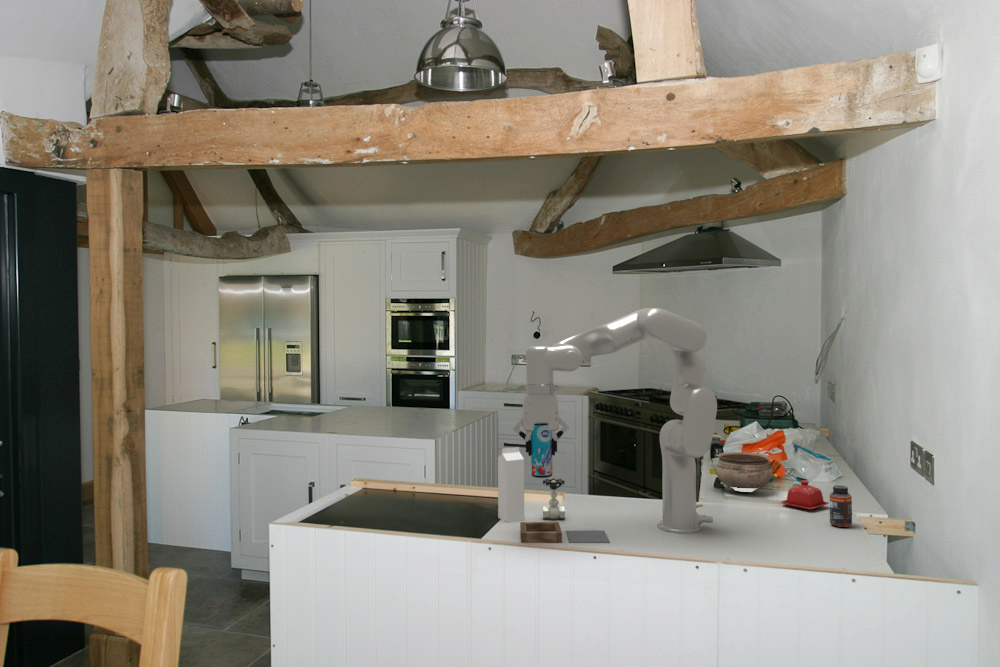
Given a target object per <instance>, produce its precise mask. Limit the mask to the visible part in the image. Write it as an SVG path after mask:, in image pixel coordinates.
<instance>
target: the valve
mask: <svg viewBox="0 0 1000 667" xmlns="http://www.w3.org/2000/svg"><path fill="white" fill-rule="evenodd" d="M542 484H543V485H545V486H549V488H550V490H551V492H550V499H549V501H548V505H549V506H542V519H543V520H551V521H552V520H553V521H557V520H558V519H559V520H565V519H566V510H565V509H566V507H565V506H559V502H560V501H559V500H558V499H557V497H558V493H557V491H556V490H557V489H559V488H560V487H561V486H563V485H565V480H564V479H562V478H558V479H557V478H555V477H553V478H551V479H549V478H544V479H543V480H542Z"/></svg>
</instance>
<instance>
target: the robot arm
mask: <svg viewBox="0 0 1000 667" xmlns="http://www.w3.org/2000/svg"><path fill="white" fill-rule="evenodd" d="M649 338H650V339H653V338H654V339H658V340H659V341H661V342H662V343H663V345H664V346H665V347H666V348H667V349H668V350H669V351H670V353H671V355H672V356H673V359H674V365H675V366H674V375H673V380H672V386H671V392H670V399H669V405H670V408H671V410H672V411H673V412H674V413H675V414H677V415H680V416H683V418H682V419H670V420H668V421H666V423H664V424H663V426H662V427H661V429H660V432H659V445H660V446H659V447H660V450H661V452H660V453H661V460H662V462H661V463H662V465H661V466H662V480H661V481H662V519H660V520H658V521H657V525H656V526H657V528H658V529H659V530H660V531H662V532H667V533H672V534H682V535H684V534H685V535H686V534H687V535H690V534H696V533H699V532H701V531H702V530H703V529H702V524H703V523H706V524H712V523H713V522H714V517H713V515H706V514H699V513H698V512H697V464H696V459H698V458H701V457H703V456H704V455H706V454H707V452H708V451H709V449H710V447H711V445H712V441H713V435H714V430H715V424H716V418H717V411H718V401H717V397H716V395H715V393H714V392H713V391H712V390H711V389H710V388H708V387H707V386H704V381H705V375H706V374H705V373H706V363H705V357H704V354H703V351H702V349H704V347H705V346H706V344H707V341H708V335H707V332H706V330H705V328H704V327H703V326H702V325H701V324H700V323H698V322H696V321H693V320H690V319H688V318H686V317H683V316H682V315H678V314H676V313H674V312H671V311H669V310H666V309H664V308H660V307H647V308H640V309H638V310H635V311H633V312H631V313H628V314H626V315H623V316H622V317H619V318H617V319H613V320H612V321H609V322H607V323H605V324H602V325H599V326H596V327H594V328H592V329H590V330H589V329H588V330H587V331H584V332H580V333H578V334H576V335H573V336H570V337H568V338H566V339H563V340H561V341H559V342H557V343H554V344H553V345H551V346H549V345H530V346H528V347H527V348H526V350H525V368H526V369H525V370H526V372H525V374H526V376H525V377H526V394H523V400H522V416H521V417H522V418H520V420H519V421H518V422H517V423H516V424H514V426H513V430H514V432H515V433H516V434H518V435H519V436H520V437H521V438H522V439H523V441H524V442H525V453H527V454H528V456H529V457H531V437H530V436H531V433H532V431H533V430H534V426H535V425H534V424H547V423H548V426H549V430H550V431H551V434H552V456H555V455H556V453H557V452H558V440H559V439H560V438H561V437H562V436H563V435H564V434H565V433H566V432H567V431H568V430H569V428H570V427H569V425H568V424H567V423H566V422H565V421H564V420H563V419H562V418H561V417H560V413H559V412H560V411H559V404H558V397H557V394H555V392H556V391H559V390H560V387H559V385H556V384H554V371H555V372H556V371H561V372H567V373H568V372H574V371H576V370H577V369H579V368H580V367H581V366H582V364H583V361H584V360H585V359H588V358H591V357H595V356H603V355H605V356H606V355H609V354H614V353H617V352H619V351H621V350H623V349H626V348H628V347H630V346H633V345H635V344H637V343H640V342H641V341H644V340H648V339H649ZM560 426H561V428H560ZM521 427H522V428H523V430H524V431H526V432H524V431H523V430H521ZM556 431H557V432H556Z"/></svg>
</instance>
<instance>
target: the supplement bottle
mask: <svg viewBox="0 0 1000 667" xmlns="http://www.w3.org/2000/svg"><path fill="white" fill-rule="evenodd" d="M852 498H853V497H852V495H851V494H850V493H849V487H848V486H847V485H840V484H839V485H838V484H837V485H835V484H834V485H833V486H832V492H831V493H830V494H829V523H830V524H831V526H834V527H839V528H847V527H851V526H852V524H853V513H852V512H853V509H852V508H853V507H852V506H853V502H852V501H853V499H852Z"/></svg>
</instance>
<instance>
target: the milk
mask: <svg viewBox="0 0 1000 667" xmlns="http://www.w3.org/2000/svg"><path fill="white" fill-rule="evenodd" d="M497 496H498V497H497V499H498V500H497V501H498V502H497V506H498V508H497V512H498V514H497V517H498V519H499V520H502V521H503V520H504V521H503V522H505V523H512V522H519V521H521V522H522V521H525V458H524V457H523V456H522V453H521V452H520V446H518V447H517V446H515V447H505V448H502V449H501V454H500V455H498V457H497Z"/></svg>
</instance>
